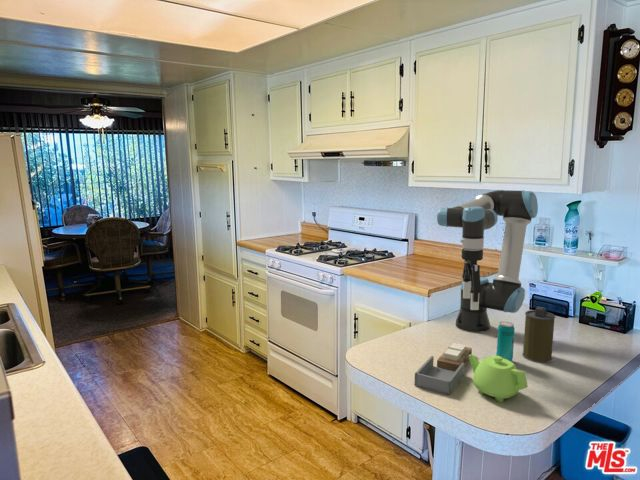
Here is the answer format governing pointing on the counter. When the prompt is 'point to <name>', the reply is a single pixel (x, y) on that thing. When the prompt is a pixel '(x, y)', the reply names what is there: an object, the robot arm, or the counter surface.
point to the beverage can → (505, 340)
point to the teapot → (497, 377)
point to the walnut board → (453, 364)
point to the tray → (438, 377)
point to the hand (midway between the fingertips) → (470, 303)
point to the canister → (538, 335)
